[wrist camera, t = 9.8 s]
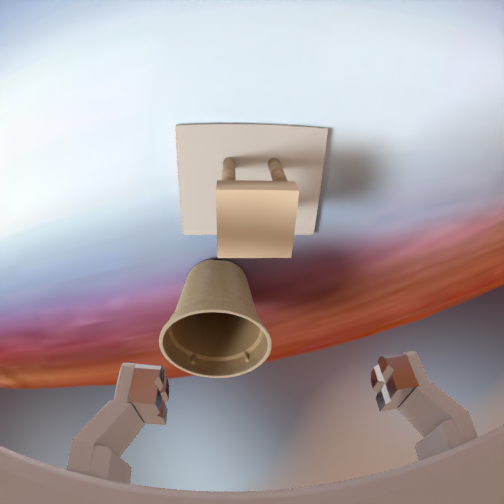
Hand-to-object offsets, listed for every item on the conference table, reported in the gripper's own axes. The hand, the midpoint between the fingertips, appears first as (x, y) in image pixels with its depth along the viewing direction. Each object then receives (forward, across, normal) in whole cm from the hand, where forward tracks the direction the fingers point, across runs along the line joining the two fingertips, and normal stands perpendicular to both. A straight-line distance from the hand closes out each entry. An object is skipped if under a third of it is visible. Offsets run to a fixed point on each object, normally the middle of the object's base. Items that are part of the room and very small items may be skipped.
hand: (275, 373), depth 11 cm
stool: (+18, 0, +1) cm, 18 cm away
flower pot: (+18, +3, +12) cm, 22 cm away
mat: (+18, 0, +1) cm, 18 cm away
